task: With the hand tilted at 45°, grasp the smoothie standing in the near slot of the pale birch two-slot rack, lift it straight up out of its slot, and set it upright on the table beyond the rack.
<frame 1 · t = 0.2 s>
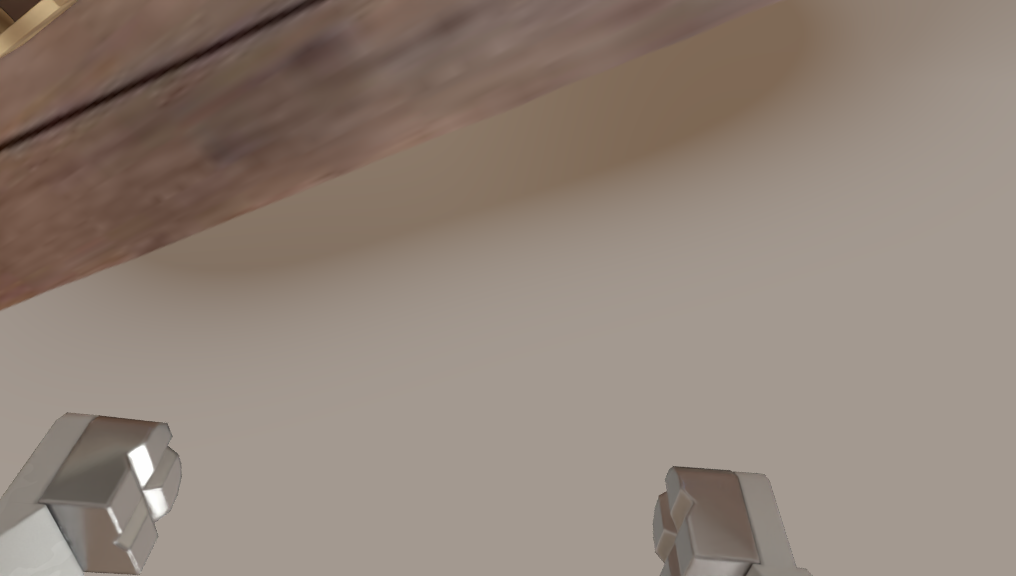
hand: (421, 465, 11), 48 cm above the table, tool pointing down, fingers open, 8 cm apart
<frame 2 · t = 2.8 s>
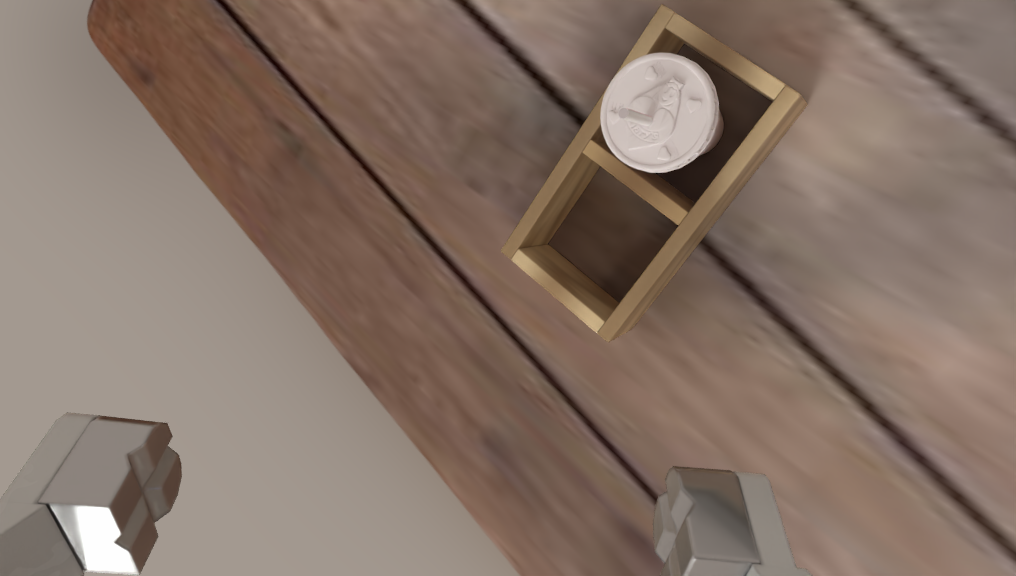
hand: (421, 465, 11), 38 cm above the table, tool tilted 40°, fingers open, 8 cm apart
rack: (655, 182, 48), on the table
smoothie: (695, 127, 46), resting in rack
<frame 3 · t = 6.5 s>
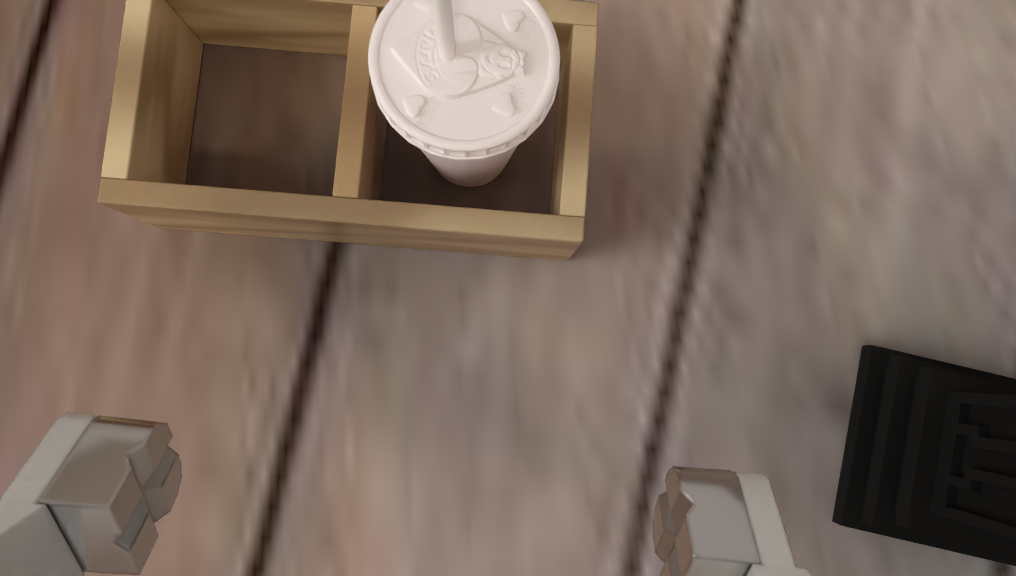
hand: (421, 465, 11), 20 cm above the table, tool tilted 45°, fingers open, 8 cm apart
chess piece: (930, 451, 32), on the table
rack: (374, 140, 32), on the table
smoothie: (470, 149, 33), resting in rack
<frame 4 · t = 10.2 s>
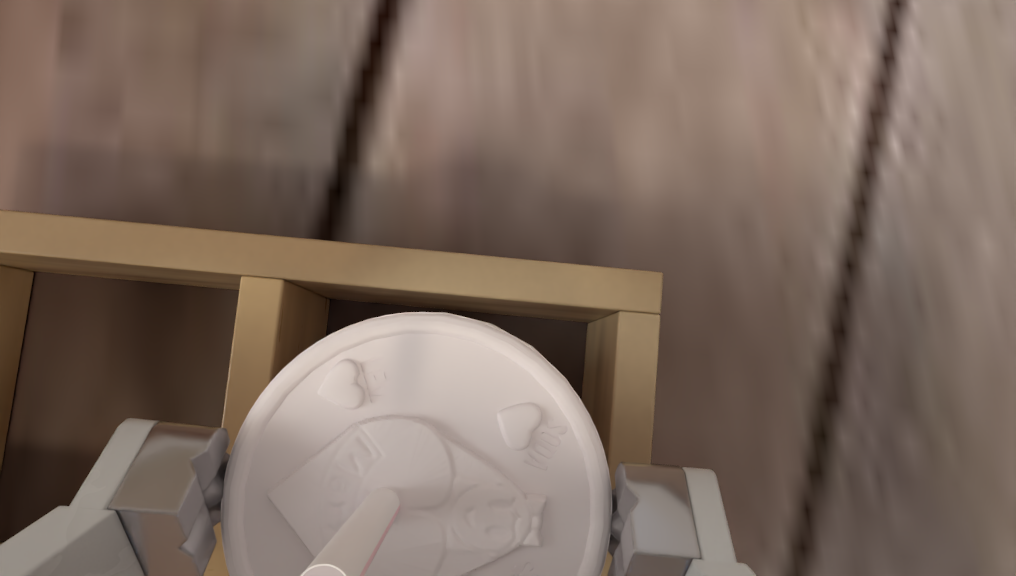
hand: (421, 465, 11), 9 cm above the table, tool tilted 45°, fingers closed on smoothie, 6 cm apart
rack: (298, 428, 21), on the table
smoothie: (447, 439, 21), resting in rack, touching gripper
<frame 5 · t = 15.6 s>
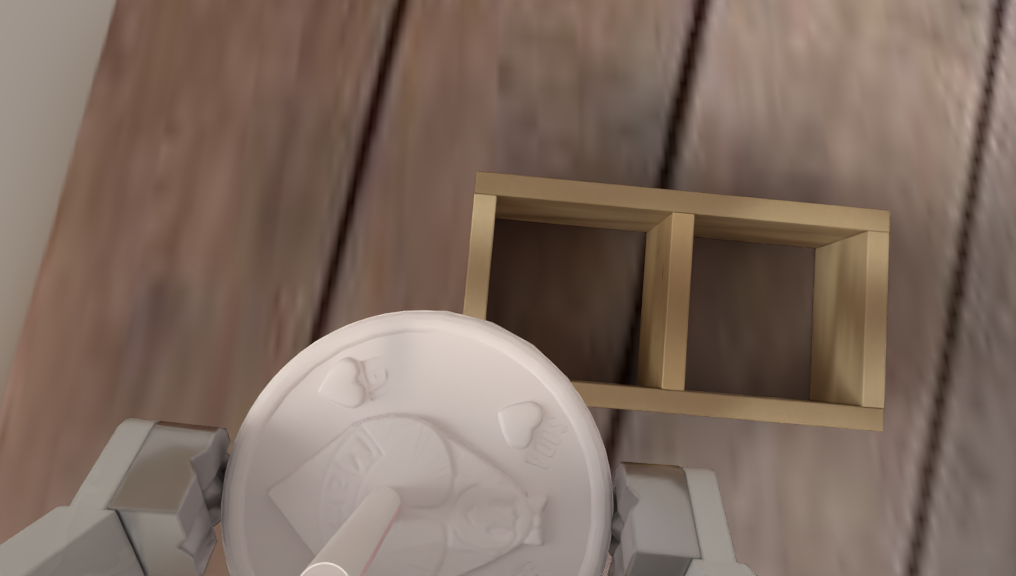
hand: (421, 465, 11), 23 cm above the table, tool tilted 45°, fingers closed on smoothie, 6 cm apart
rack: (651, 308, 35), on the table
smoothie: (447, 439, 21), point 14 cm above the table, touching gripper
when the fingers open (9 cm above the table, at t = 21.0 s): smoothie stays where it is, on the table.
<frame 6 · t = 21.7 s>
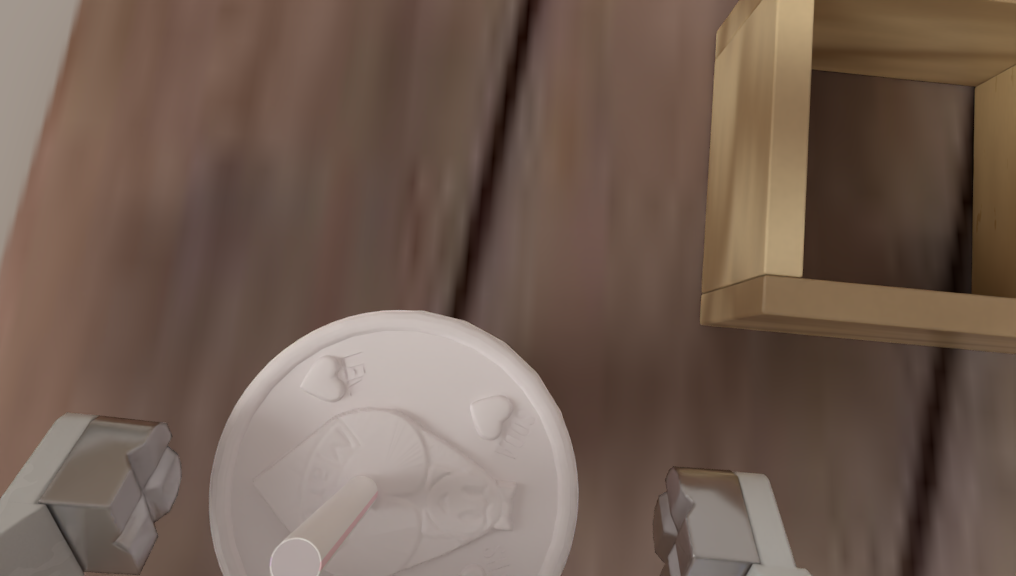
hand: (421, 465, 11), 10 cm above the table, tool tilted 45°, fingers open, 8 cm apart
rack: (986, 202, 23), on the table
smoothie: (433, 435, 22), on the table
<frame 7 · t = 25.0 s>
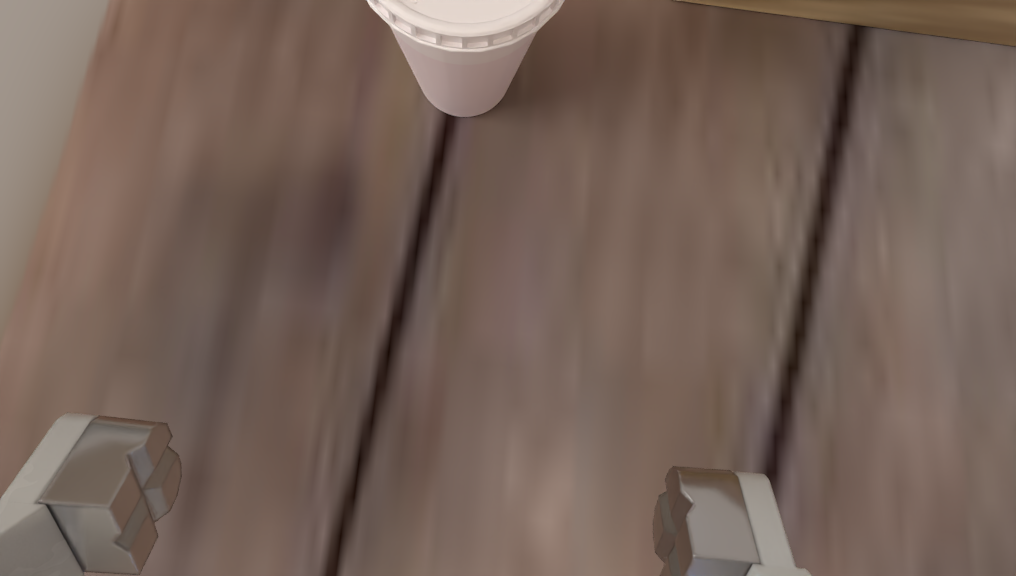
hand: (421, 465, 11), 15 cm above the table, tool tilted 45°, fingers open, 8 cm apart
smoothie: (464, 74, 28), on the table
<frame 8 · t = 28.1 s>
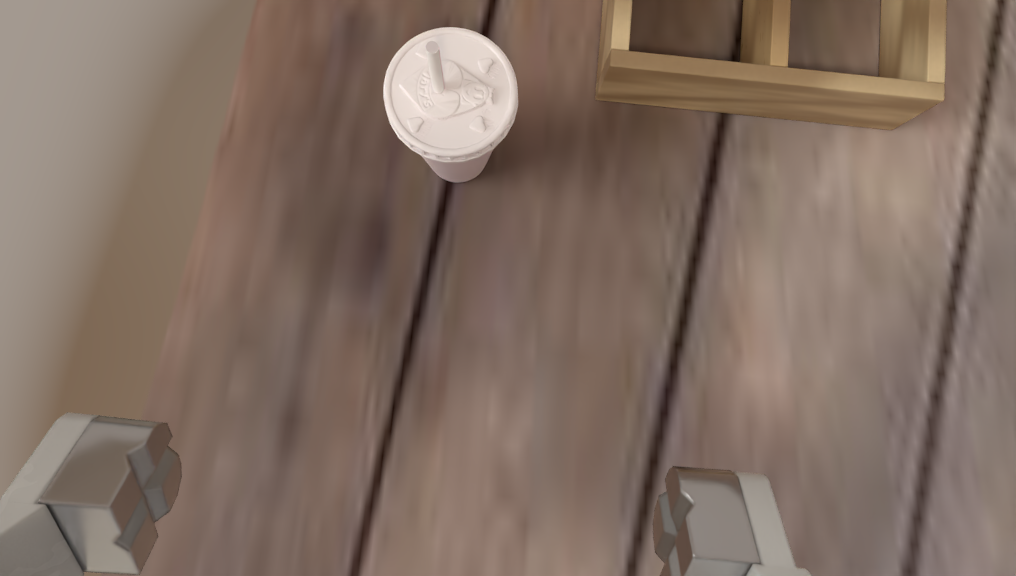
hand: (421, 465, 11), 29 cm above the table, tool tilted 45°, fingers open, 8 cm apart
rack: (748, 40, 44), on the table
smoothie: (458, 153, 42), on the table
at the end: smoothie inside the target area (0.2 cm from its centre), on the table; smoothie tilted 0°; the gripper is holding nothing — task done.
